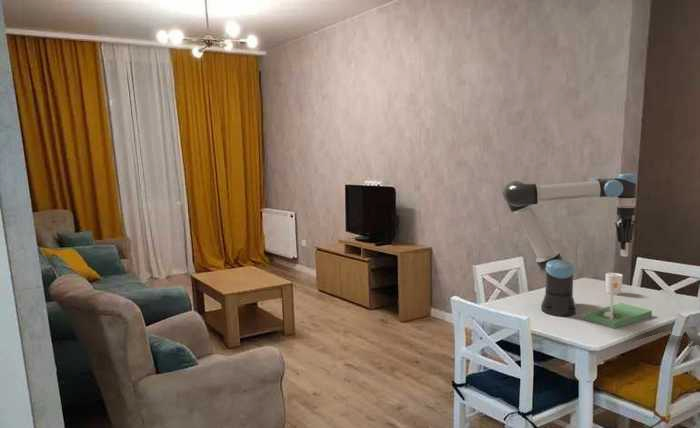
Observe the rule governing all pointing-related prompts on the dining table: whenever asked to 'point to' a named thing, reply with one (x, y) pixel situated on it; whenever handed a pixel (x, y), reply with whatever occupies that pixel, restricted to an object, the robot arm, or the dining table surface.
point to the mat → (618, 315)
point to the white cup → (613, 279)
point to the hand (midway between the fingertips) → (624, 256)
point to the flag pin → (613, 285)
